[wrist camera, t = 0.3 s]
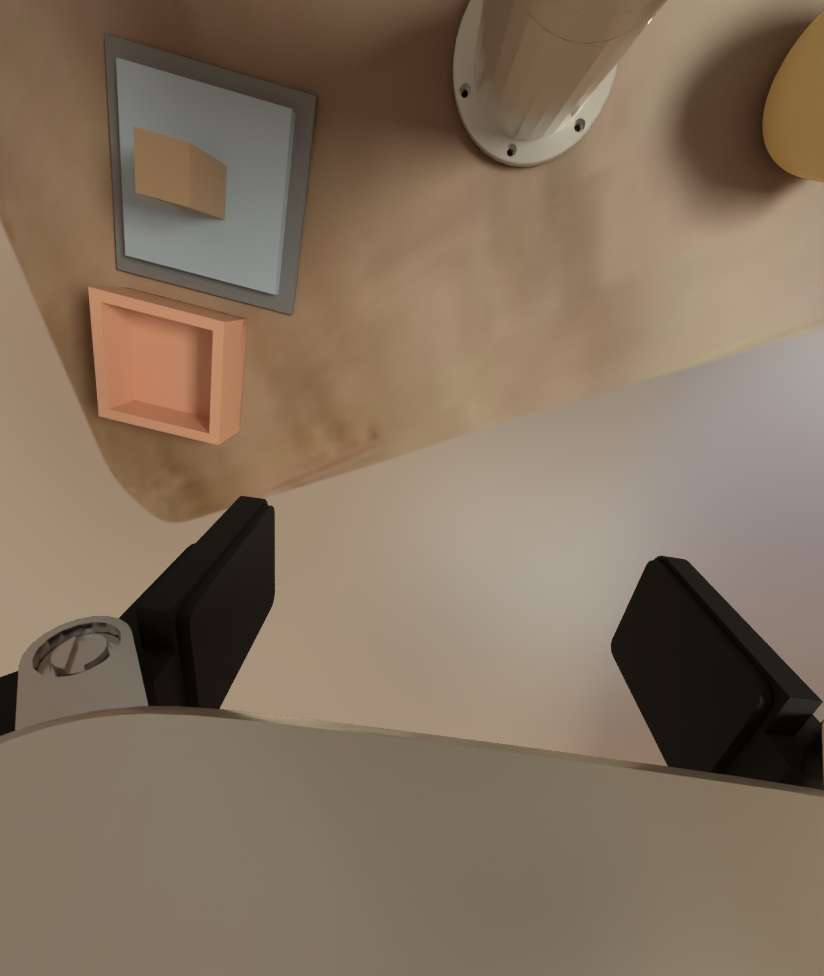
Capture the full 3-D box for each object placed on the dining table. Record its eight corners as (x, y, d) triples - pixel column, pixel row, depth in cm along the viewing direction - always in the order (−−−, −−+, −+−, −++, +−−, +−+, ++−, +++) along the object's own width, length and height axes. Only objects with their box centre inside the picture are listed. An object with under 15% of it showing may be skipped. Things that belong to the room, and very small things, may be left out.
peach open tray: (126, 287, 41) (88, 286, 37) (247, 318, 42) (224, 321, 37) (131, 404, 46) (98, 416, 42) (239, 430, 47) (218, 445, 42)
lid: (124, 63, 34) (52, 10, 27) (295, 113, 34) (264, 72, 28) (132, 256, 39) (74, 248, 33) (278, 294, 40) (249, 294, 34)
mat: (107, 36, 33) (104, 33, 33) (317, 98, 34) (316, 95, 34) (120, 269, 40) (117, 269, 40) (293, 314, 41) (291, 315, 41)
